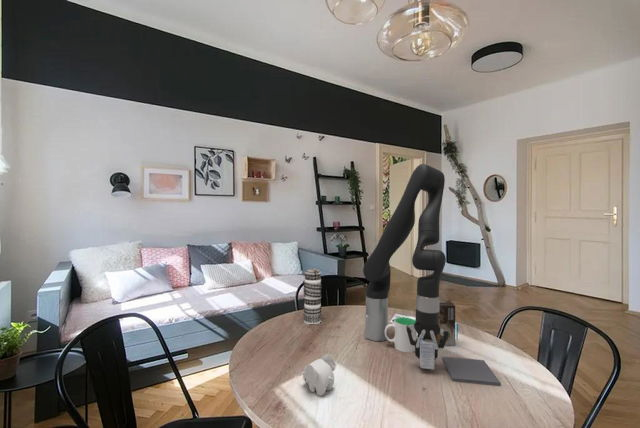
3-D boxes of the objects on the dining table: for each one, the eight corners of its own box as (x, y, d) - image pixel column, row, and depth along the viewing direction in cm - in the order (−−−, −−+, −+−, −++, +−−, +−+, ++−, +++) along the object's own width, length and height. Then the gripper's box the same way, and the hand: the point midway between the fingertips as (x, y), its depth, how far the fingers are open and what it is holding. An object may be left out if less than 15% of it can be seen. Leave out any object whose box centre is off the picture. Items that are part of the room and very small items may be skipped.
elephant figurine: (313, 374, 98) (313, 347, 98) (343, 388, 91) (343, 358, 91) (292, 387, 91) (292, 358, 91) (323, 403, 83) (323, 372, 83)
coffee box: (450, 339, 125) (450, 300, 125) (455, 346, 119) (456, 305, 119) (427, 338, 126) (428, 299, 126) (431, 344, 120) (432, 304, 120)
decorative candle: (299, 319, 146) (300, 268, 146) (317, 316, 150) (317, 266, 150) (307, 326, 138) (307, 271, 138) (325, 323, 142) (325, 270, 141)
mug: (386, 351, 114) (386, 324, 114) (383, 342, 122) (383, 316, 122) (418, 352, 113) (418, 325, 113) (413, 343, 121) (413, 317, 121)
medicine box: (434, 370, 98) (435, 344, 98) (420, 368, 99) (420, 342, 99) (431, 358, 106) (431, 334, 106) (417, 356, 107) (418, 332, 107)
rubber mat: (452, 381, 95) (452, 378, 95) (442, 359, 108) (442, 356, 108) (500, 385, 92) (500, 382, 92) (483, 362, 106) (483, 360, 106)
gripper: (406, 310, 100) (405, 361, 100) (452, 313, 97) (451, 366, 97) (404, 303, 107) (403, 350, 107) (447, 306, 104) (446, 355, 105)
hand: (426, 357), depth 102 cm, fingers closed on medicine box, 4 cm apart
